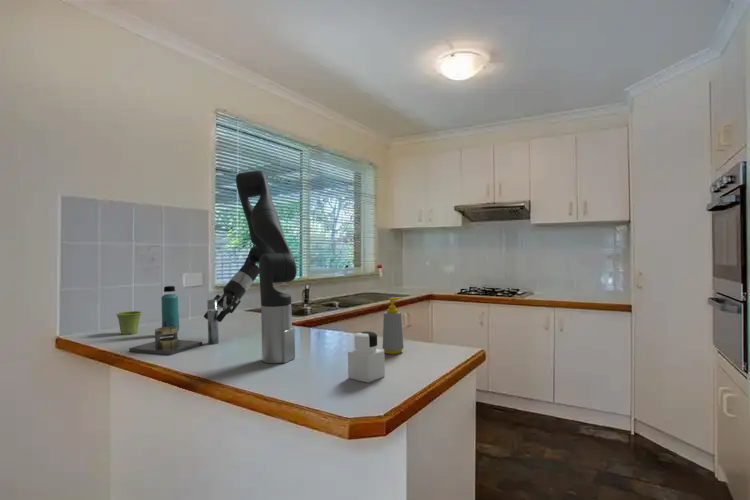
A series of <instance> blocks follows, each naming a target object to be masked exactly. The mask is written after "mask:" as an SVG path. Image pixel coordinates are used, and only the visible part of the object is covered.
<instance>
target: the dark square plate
mask: <svg viewBox="0 0 750 500" xmlns="http://www.w3.org/2000/svg"><path fill="white" fill-rule="evenodd" d="M178 332H179V331H178V327H177V326H174V327H162V326H161V327H158V328H155V329H154V338H155V339H154V341H151V342H147V343H143V344H140V345H136V346H133V347H128V352H129V353H141V354H142V353H143V354H149V355H150V354H152V355H164V356H173V355H176V354H178V353H182V352H185V351H188V350H192V349H194V348H197V347H201V346H203V341H197V340H182V339H181V340H180V339H179V338H178ZM171 334H172V336H167V337H161V336H162V335H164V336H165V335H171ZM160 335H161V336H160Z"/></svg>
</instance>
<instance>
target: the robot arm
mask: <svg viewBox="0 0 750 500" xmlns="http://www.w3.org/2000/svg"><path fill="white" fill-rule="evenodd" d="M235 185H236V189H237V193H238V196H239V201H240V204H241V206H242V207H241V208H242V210H243V214H244V216H245V220H246V223H247V226H248V231H249V237H250V242H251V243H252V244H253V245H254V246H253V247H251V248H250V249H249V252H248V253H247V254H248V255H247V256H246V259H245V261H244V263H243V264H242V266H241V267H240V269H238V270H237V272H236V273H235V274H234V275H233V276H232V277H231V278H230V280H229V281H228V283H227V284H226V285H225V286H224V287H223V289H222V291H223V294H222V295H220V294H216V296H215V297H213V299H212V300H214V299H216V300H218V310H221V309H222V310H221V311H220V312H218V316H217V317H216V320H217V321H218V323H220V322H222V321H223V320H224V319H225V317H226V316H227V315H229V314H233V313H234V312H235V310H236V308H238V306H239V304H241V299H242V298H243V297H244V295H245V294H246V292H247V291H248V290H249V289H250V287H251V286H252V283H254V281H255V280H256V278H257V277H258V276H259V277H258V278H259V286H260V287H259V289H260V290H259V291H260V293H259V295H260V313H261V314H260V315H261V318H260V320H261V360H262V362H263V363H267V364H286V363H288V362H290V361H291V360H293V359H294V360H295V358H296V338H295V335H296V333H295V332H296V331H295V330H296V329H295V328H294V327H293V324H292V323H293V322H292V321H293V317H292V316H293V315H292V296H291V294H288V293H284V292H282V291H278V290H277V289H276V288H274V284H277V283H278V284H279V283H289V282H293V281H294V280H295V278H296V277H297V264H296V261H295V257H294V255H293V253H292V250H291V248H290V246H289V244H288V242H287V240H286V237H285V234H284V232H283V228H282V225H281V221H280V219H279V215H278V213H277V209H276V207H275V204H274V202H273V199H272V195H271V192H270V191H271V190H270V185H269V183H268V179H267V176H266V174H265V172H264V171H263V170H262V171H261V170H253V171H246V172H240V173H237V174H236V176H235ZM253 197H259V198H258V201H257V202H256V203H255V205H254V207H253V206H252V203H251V201H250V200H249V199H250V198H253ZM257 263H258V265H257ZM203 318H204V319H205V320H207V321H208V311H206V312H205V314H204V315H203Z"/></svg>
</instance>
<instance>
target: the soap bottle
mask: <svg viewBox="0 0 750 500" xmlns="http://www.w3.org/2000/svg"><path fill="white" fill-rule="evenodd" d="M387 299H388V300H389V303H390V305H388V309H387V310H386V311H384V312H383V324H382V327H383V329H382V350H384V354H389V355H398V354H401V353H402V351H403V349H404V333H403V321H402V320H403V319H402V312H400V311H399V310H398V308H397V306H396V305H395V302H396V301H397V300H401V299H403V297H402V296H398V297H387Z"/></svg>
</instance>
